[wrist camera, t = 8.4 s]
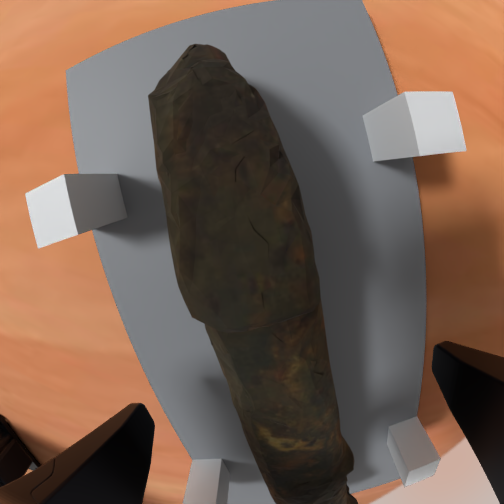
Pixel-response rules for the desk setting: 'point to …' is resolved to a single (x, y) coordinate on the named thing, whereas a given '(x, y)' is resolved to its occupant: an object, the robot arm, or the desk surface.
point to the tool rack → (316, 210)
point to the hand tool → (250, 271)
